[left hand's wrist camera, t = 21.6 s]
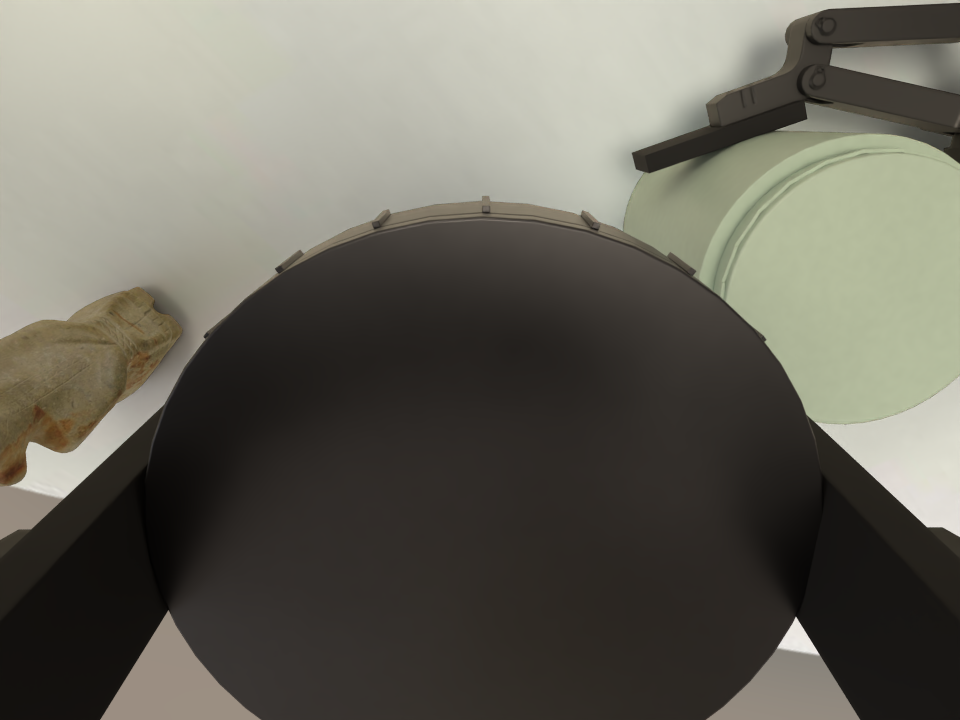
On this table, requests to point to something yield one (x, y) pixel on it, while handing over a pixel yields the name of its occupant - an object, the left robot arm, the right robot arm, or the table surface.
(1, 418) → the sculpture
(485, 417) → the lid
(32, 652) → the left robot arm
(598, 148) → the table surface
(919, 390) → the jar
